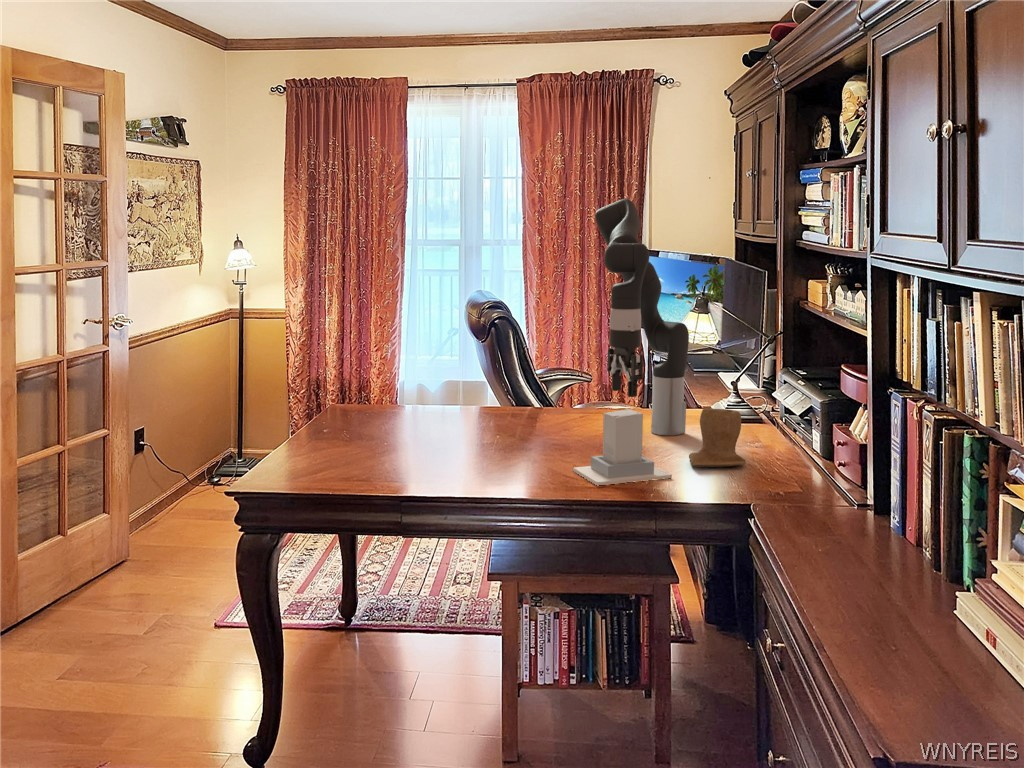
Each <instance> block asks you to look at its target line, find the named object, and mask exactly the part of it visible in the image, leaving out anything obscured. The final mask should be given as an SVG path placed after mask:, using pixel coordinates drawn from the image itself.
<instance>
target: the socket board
mask: <svg viewBox="0 0 1024 768" xmlns="http://www.w3.org/2000/svg"><path fill="white" fill-rule="evenodd" d="M573 471H574V474H576V475H578V474H579V476H580V477H581V476H582V477H581V478H583V477H584V478H583V479H585V480H586V479H587V480H586V481H588V482H589V481H590V482H589V483H591V482H592V483H591V484H593V483H594V484H595V485H594V484H593V485H594V486H596V485H597V486H596V487H600V486H599V485H606V486H609V485H608V484H615V485H618V484H617V483H623V482H633V481H641V480H642V481H643V480H652V479H663V478H672V479H673V474H671V473H669V472H667V471H665V470H663V469H661V468H659V467H658V466H655V461H653V460H651V459H648V458H647V457H645V456H643V455H642V462H634V463H623V464H613V465H610V464H608V463H606V462H605V461H603V455H595V456H590V465H589V466H587V465H586V466H577V467H573ZM573 471H572V472H573Z"/></svg>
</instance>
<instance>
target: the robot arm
mask: <svg viewBox="0 0 1024 768" xmlns="http://www.w3.org/2000/svg"><path fill="white" fill-rule="evenodd" d="M594 217H595V219H594V220H595V223H596V226H597V227H598V231H599V232H600V234H601V236H602V238H603V240H604V242H605V243H606V245H607V247H606V249H605V251H604V257H603V261H604V266H605V268H606V269H607V271H609V272H611V273H614V274H621V277H622V280H623V282H620V283H615V284H614V285H612V287H611V291H610V292H611V293H610V294H611V295H610V297H611V298H610V308H611V309H610V313H609V340H608V341H609V348H607V364H606V365H607V367H606V371H607V373H609V374H610V376H611V390H612V391H614V392H619V391H621V388H622V375H621V374H622V373H624V375H626V378H627V393H626V395H627V397H629V398H635V397H637V395H638V381H640V380H643V377H644V370H643V369H644V368H643V367H644V361H643V360H644V357H643V356H644V355H643V354H640V353H639V354H637V353H636V352H637V351H636V349H637V348H640V347H641V344H642V329H643V330H644V334H645V337H646V340H647V342H648V344H649V346H650V348H651V349H652V350H653V351H656V352H658V353H663V354H664V353H666V354H667V356H666V357H667V358H666V360H665V361H664V362H662V363H658V364H655V365H654V366H653V368H652V369H653V370H652V391H651V392H652V394H651V395H652V396H651V425H650V426H651V433H652V434H654V435H660V436H679V435H682V434H686V426H687V425H686V424H687V423H686V421H687V420H686V419H687V401H685V399H684V397H685V396H684V395H685V393H684V391H685V372H686V368H687V364H688V353H689V342H690V334H689V329H688V326H687V325H686V324H685V323H683V322H678V321H676V322H675V321H665V320H663V318H662V316H661V315H660V312H659V309H658V304H659V301H660V298H661V293H662V283H661V280H660V277H659V275H658V274H657V271H656V268H655V266H654V265H653V264H652V263H651V262H650V250H649V249H648V247H647V246H646V245H645V244H644V243H641V242H639V239H638V236H639V232H640V228H641V219H640V215H639V212H638V209H637V207H636V205H635V203H634V202H633V201H632V200H631V199H629V198H623V199H620V200H617V201H615V202H612V203H610V204H607V205H605V206H603V207H601V208H599V209H597V210H596V211H595V214H594ZM642 327H643V328H642Z"/></svg>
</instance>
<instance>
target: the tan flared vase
mask: <svg viewBox="0 0 1024 768" xmlns="http://www.w3.org/2000/svg"><path fill="white" fill-rule="evenodd" d="M699 427H700V431H701V438H702V441H701V442H702V447H701V449H700V450H699V451H696V452H691V453H689V454H688V459H689V463H690V467H692V468H724V467H735V466H742V465H743V466H744V465H747V461H746V459H745V458H743V457H742V456H740V455H738V454H737V452H736V446H737V442H738V439H739V437H740V434H741V429H742V415H741V413H740V411H738V410H733V409H724V408H723V409H722V408H709V407H707V408H703V409H702V410H701V413H700V417H699Z"/></svg>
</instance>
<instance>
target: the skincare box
mask: <svg viewBox="0 0 1024 768" xmlns="http://www.w3.org/2000/svg"><path fill="white" fill-rule="evenodd" d="M602 421H603V429H602V430H603V431H602V434H603V435H602V456H603V461H605V462H606V463H608V464H610V465H613V464H623V463H634V462H642V456H643V435H644V434H643V430H644V428H643V427H644V413H643V412H639V411H635V410H633V409H631V408H627V409H623V410H617V411H616V410H615V411H609V412H603V420H602Z"/></svg>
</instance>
